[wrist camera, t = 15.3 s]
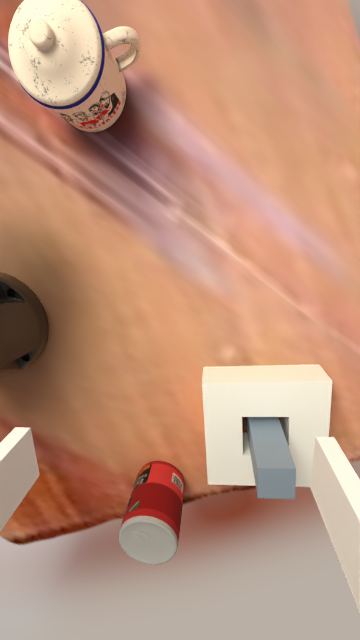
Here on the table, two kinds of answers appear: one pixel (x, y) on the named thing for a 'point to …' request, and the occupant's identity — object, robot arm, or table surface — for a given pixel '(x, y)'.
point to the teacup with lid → (71, 61)
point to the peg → (271, 458)
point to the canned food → (153, 514)
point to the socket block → (263, 401)
